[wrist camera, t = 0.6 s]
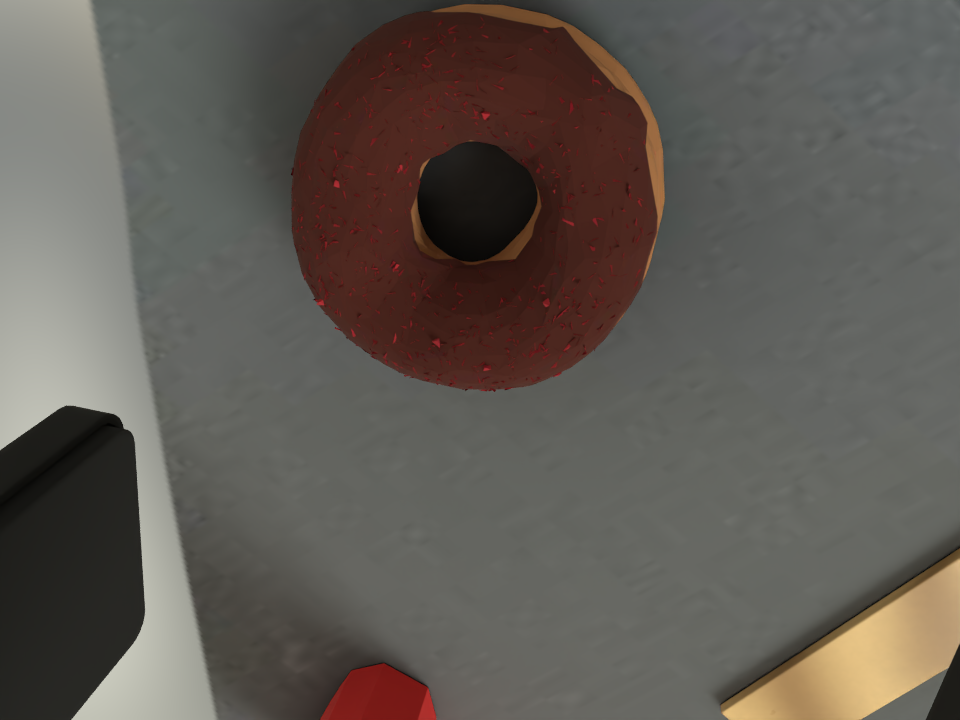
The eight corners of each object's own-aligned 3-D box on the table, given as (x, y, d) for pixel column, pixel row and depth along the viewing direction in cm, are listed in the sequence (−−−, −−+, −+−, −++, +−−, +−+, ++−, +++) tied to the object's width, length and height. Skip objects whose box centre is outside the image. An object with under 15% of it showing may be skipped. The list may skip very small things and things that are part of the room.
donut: (503, -90, 22) (470, -104, 18) (743, 211, 24) (757, 251, 20) (251, 172, 26) (184, 203, 22) (472, 413, 28) (442, 477, 24)
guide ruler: (1167, 411, 23) (1174, 418, 23) (1240, 482, 24) (1248, 490, 23) (720, 704, 30) (720, 713, 30) (782, 756, 30) (783, 765, 30)
